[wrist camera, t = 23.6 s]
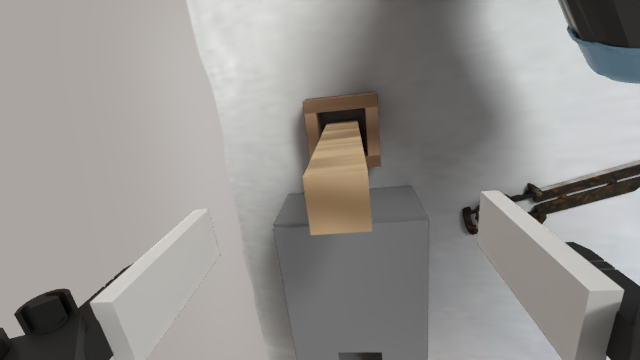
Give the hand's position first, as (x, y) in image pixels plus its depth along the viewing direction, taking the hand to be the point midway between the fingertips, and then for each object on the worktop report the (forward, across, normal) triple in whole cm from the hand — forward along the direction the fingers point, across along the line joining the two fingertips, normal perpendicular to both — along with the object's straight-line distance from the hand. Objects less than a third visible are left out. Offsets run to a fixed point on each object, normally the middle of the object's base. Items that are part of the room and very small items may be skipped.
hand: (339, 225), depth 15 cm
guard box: (+28, 0, -23) cm, 36 cm away
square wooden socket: (+28, 0, 0) cm, 28 cm away
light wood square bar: (+28, 0, -1) cm, 28 cm away
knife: (+29, +28, -12) cm, 42 cm away
